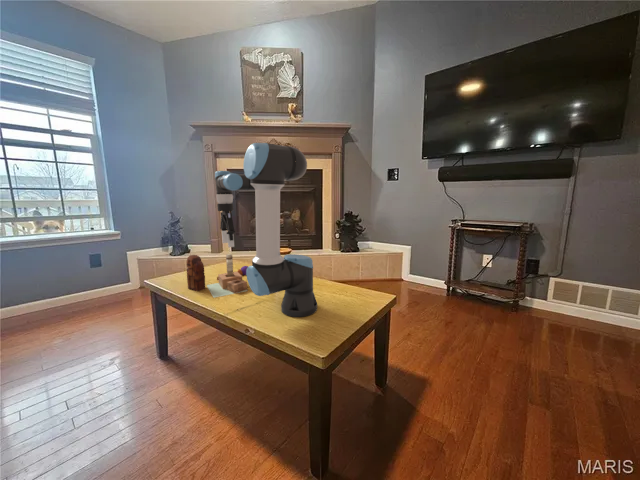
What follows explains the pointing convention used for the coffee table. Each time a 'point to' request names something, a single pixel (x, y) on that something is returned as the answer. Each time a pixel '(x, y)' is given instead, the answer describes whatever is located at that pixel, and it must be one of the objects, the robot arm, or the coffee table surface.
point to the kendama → (241, 271)
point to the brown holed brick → (237, 285)
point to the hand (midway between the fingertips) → (228, 244)
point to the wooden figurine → (195, 273)
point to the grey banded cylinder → (229, 265)
